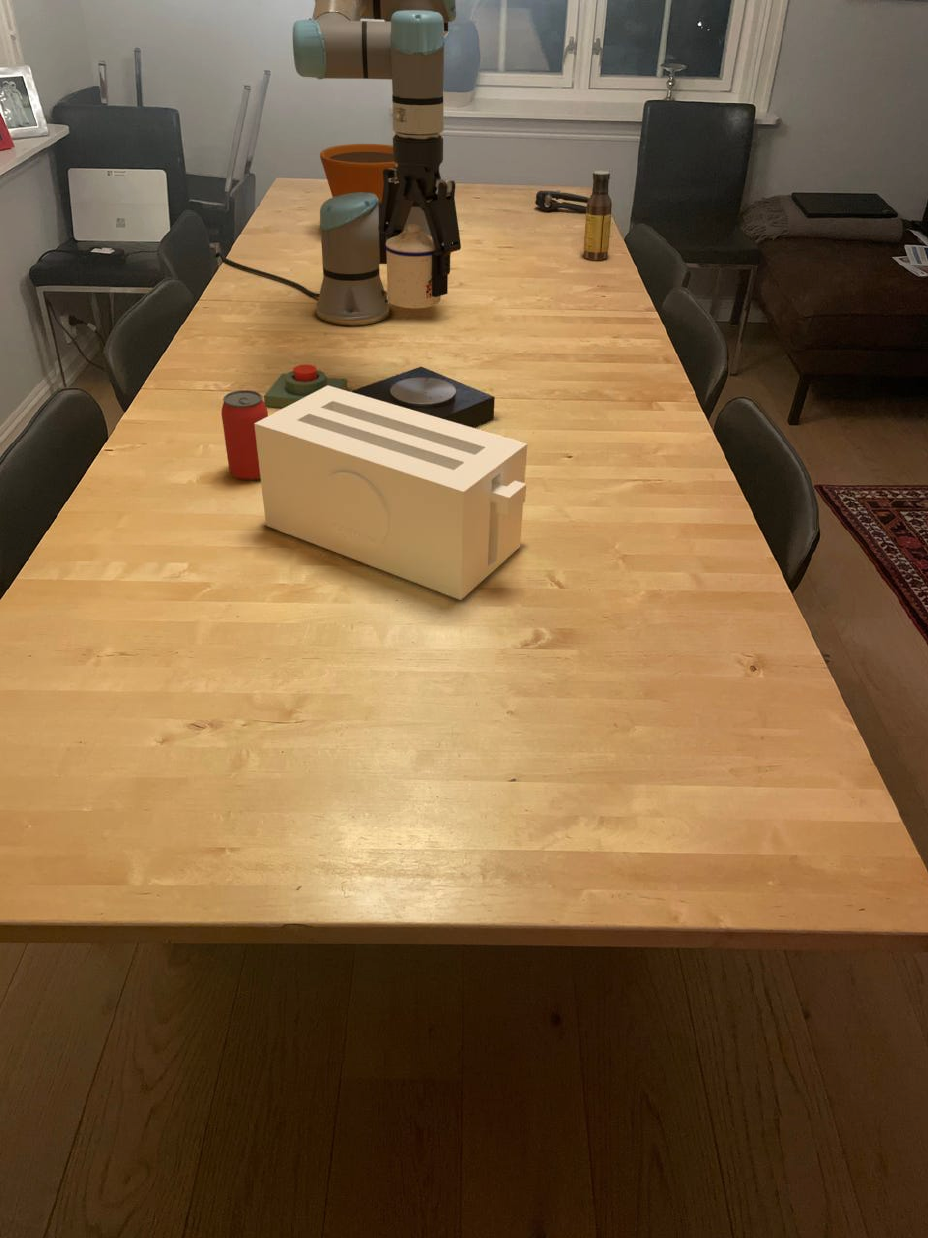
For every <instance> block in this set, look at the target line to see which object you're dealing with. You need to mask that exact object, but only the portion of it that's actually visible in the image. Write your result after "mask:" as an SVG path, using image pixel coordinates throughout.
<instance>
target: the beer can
mask: <svg viewBox="0 0 928 1238" xmlns="http://www.w3.org/2000/svg"><path fill="white" fill-rule="evenodd" d="M222 400H223V403H222V407H221V412H220V413H221V420H222V427H223V435H224V442H225V443H224V444H225V449H226V450H225V451H226V457H227V464H228V471H229V473H230V475H232V476H233V477H234V478H237V479H239V480H243V481H255V480H261V477H260V468H259V460H258V451H257V442H256V433H255V425H254V423H256V422H258V421H260V420H262V419H264V418H266V417H268V416H269V412H268V408H267V407H266V406H265V402H264V399H263V395H262V394H261V393H260V392H257V391H255V390H250V389H239V390H233V391H231V392H228V393H226V394H225V395H224V396H223V399H222Z"/></svg>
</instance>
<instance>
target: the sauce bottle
mask: <svg viewBox="0 0 928 1238" xmlns="http://www.w3.org/2000/svg"><path fill="white" fill-rule="evenodd" d="M610 179H611V173H610V171H607V170H595V171H593V172H592V190H591V191H592V193H591V194H590V196H589V197H588V198H589V199H588V202H587V203H586V207H587V208H586V213H585V223H584V237H583V239H584V240H583V258H585V259H586V260H589V261H603V260H605V259H607V258H608V254H609V253H608V252H609V248H610V238H611V237H610V235H611V225H612V205H613V203H612V199H611V197H610V195H609V182H610Z"/></svg>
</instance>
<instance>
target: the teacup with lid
mask: <svg viewBox="0 0 928 1238" xmlns="http://www.w3.org/2000/svg"><path fill="white" fill-rule="evenodd" d="M407 230H408V231H404V232H402V233H401V234H399V235H398V236H394V237H391V238H389V239H388V240H387V242H386V245H385V249H386V250H387V264H386V288H387V290H386V291H387V300H388V303H389V304H391V305H394V306H396V307H399V308H404V309H425V308H430V307H434V306H435V305H438V304H439V303H440V301H441V300H442V299H441V297H442V295H441V296H438V297H433V296H432V254H433V253H434V252H436V249H435V246H434V243H433V239H432V236H429V235H428V234H426V233H425V232H422V231H420V226H419V225H417V224H410V225H408V227H407Z"/></svg>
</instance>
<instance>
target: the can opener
mask: <svg viewBox="0 0 928 1238" xmlns="http://www.w3.org/2000/svg"><path fill="white" fill-rule="evenodd" d="M535 195H536V196H535V201H534V203H535V205H536V206H537V207H539V208H540V209H541V210H543V211H546V212H550V211H553V210H558V209H563V210H564V209H565V210H570V211H573V212H578V213H581V214H582V213H584V214H586V208H587V205H586V206H585V205H581V204H577V203H582V204H587V202H588V199H589V198H590V197H588V196H584V195H580V194H575V193H570V192H564V191H563V192H561V190H560V189H558V190H539V191H537V192H536V193H535ZM557 200H562V202H558V201H557ZM566 201H567V202H566ZM571 202H576V203H571Z"/></svg>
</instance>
